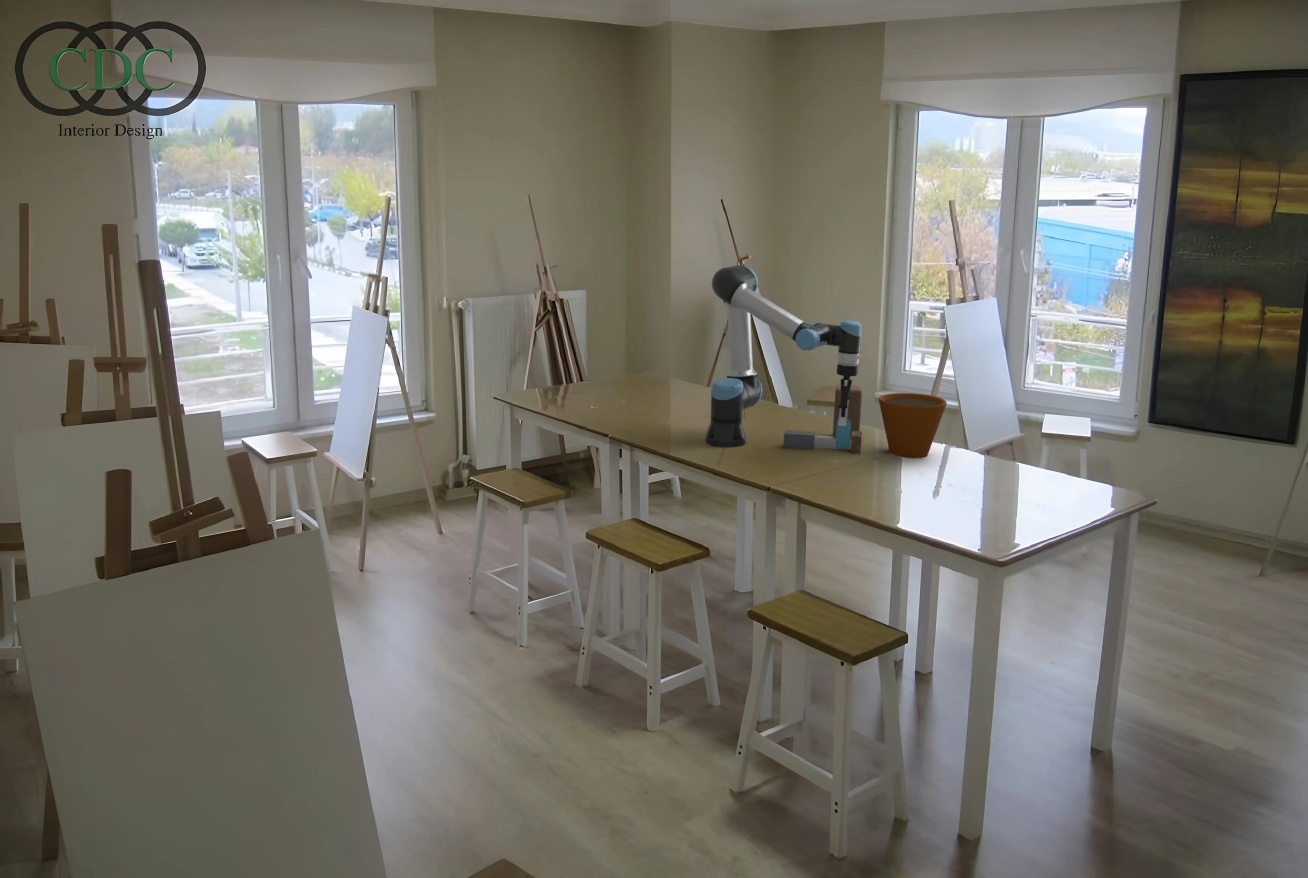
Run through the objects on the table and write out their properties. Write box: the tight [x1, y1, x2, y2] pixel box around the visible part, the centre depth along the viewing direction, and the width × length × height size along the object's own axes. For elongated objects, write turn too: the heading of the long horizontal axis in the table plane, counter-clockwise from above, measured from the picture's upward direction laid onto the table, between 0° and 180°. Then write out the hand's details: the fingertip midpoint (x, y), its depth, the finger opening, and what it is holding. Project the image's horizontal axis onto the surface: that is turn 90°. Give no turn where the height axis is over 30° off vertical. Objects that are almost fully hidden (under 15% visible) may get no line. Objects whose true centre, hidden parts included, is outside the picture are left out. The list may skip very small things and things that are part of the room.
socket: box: [850, 430, 863, 455], centre depth 383 cm, size 4×8×6 cm, turn 168°
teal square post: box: [814, 418, 852, 451], centre depth 384 cm, size 19×4×10 cm, turn 78°
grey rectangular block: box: [782, 429, 816, 451], centre depth 387 cm, size 11×6×6 cm, turn 78°
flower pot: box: [878, 392, 947, 459], centre depth 380 cm, size 24×24×20 cm
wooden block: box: [832, 384, 863, 438], centre depth 400 cm, size 10×10×20 cm
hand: (842, 421), depth 383 cm, fingers open, 13 cm apart
